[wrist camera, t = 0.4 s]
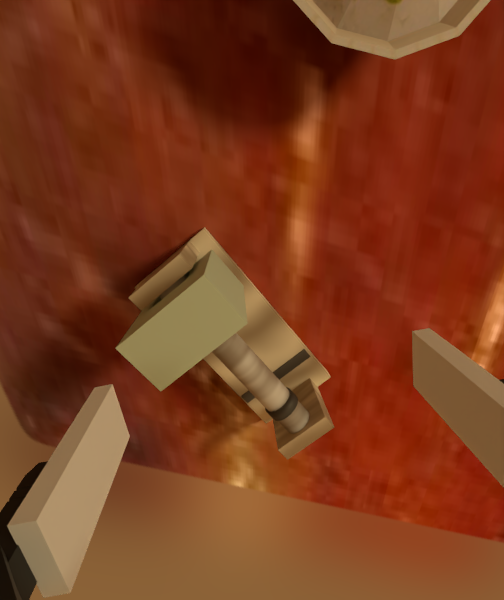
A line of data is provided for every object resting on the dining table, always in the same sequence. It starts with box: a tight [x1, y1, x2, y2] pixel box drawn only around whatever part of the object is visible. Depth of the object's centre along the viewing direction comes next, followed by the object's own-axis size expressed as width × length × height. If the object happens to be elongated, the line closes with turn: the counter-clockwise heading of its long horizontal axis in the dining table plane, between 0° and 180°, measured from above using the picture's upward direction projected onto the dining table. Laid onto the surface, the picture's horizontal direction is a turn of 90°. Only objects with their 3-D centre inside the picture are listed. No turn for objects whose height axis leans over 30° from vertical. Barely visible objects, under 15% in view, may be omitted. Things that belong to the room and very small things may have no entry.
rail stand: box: [128, 227, 334, 459], centre depth 39 cm, size 23×10×9 cm, turn 39°
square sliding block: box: [115, 250, 248, 391], centre depth 33 cm, size 5×9×11 cm, turn 129°
